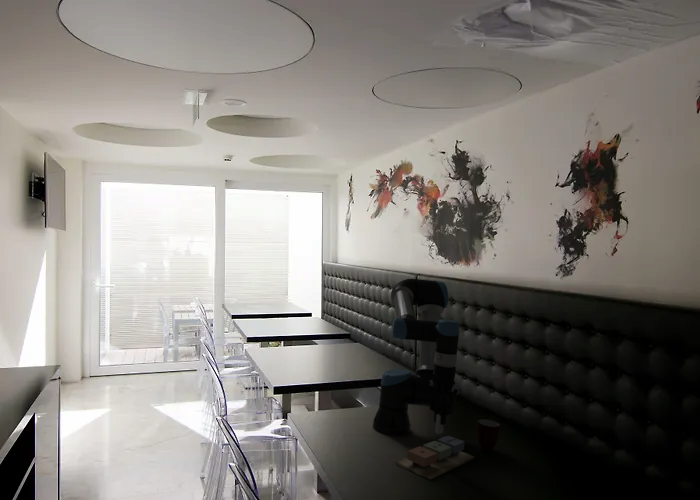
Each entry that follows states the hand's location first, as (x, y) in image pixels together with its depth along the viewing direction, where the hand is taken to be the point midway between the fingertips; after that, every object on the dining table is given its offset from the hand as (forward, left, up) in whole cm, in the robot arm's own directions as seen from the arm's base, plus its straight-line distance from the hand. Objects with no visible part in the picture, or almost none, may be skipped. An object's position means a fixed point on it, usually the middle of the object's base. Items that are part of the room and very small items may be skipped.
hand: (438, 432), depth 173 cm
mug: (+6, +25, -10) cm, 28 cm away
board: (0, 0, -10) cm, 10 cm away
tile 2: (0, 0, -8) cm, 8 cm away
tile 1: (0, -9, -8) cm, 12 cm away
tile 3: (0, +9, -8) cm, 12 cm away
